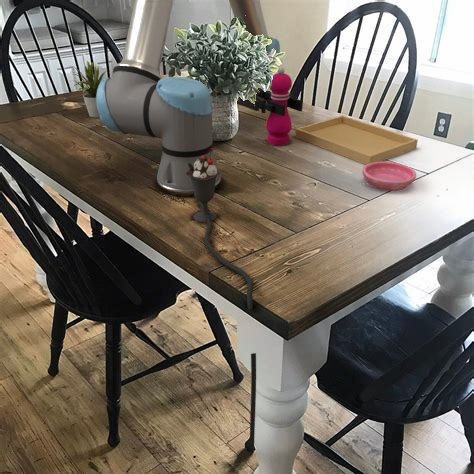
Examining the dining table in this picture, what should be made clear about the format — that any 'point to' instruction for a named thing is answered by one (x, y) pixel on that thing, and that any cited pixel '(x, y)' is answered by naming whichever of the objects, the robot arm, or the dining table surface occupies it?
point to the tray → (356, 139)
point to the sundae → (203, 184)
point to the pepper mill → (277, 123)
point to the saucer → (389, 175)
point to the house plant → (92, 91)
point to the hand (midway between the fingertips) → (292, 108)
